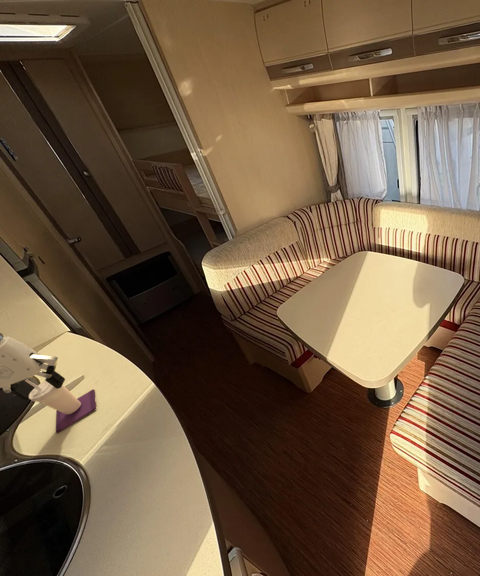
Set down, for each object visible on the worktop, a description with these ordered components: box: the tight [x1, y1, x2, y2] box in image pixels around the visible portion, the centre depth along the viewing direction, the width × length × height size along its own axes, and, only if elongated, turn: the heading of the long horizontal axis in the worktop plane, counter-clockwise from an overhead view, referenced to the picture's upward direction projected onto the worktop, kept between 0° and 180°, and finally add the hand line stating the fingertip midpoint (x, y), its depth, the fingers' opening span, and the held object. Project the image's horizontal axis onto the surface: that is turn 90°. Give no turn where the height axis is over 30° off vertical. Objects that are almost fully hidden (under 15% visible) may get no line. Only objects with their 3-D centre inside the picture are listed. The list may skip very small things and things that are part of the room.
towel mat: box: [55, 388, 97, 434], centre depth 86 cm, size 9×9×1 cm
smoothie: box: [24, 378, 81, 414], centre depth 81 cm, size 6×6×14 cm
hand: (45, 389), depth 79 cm, fingers closed on smoothie, 6 cm apart
